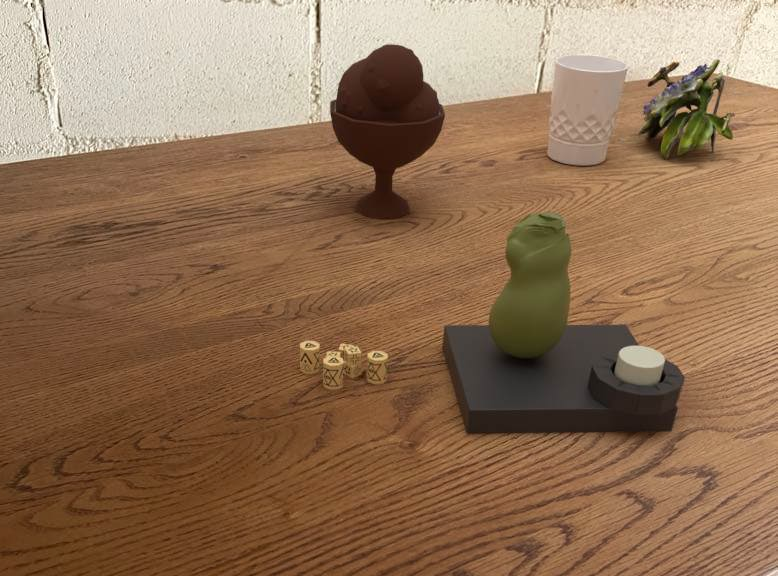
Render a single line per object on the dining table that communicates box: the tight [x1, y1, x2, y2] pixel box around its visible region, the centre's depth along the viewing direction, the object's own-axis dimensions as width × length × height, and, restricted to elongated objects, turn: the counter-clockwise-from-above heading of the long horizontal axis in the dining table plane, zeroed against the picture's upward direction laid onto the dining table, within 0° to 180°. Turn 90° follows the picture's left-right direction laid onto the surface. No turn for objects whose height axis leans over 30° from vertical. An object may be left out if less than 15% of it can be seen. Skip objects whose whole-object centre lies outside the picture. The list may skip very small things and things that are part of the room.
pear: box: [488, 211, 572, 359], centre depth 63 cm, size 6×5×10 cm
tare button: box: [614, 345, 666, 386], centre depth 61 cm, size 3×3×2 cm
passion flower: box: [638, 59, 736, 161], centre depth 109 cm, size 11×11×12 cm
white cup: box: [546, 53, 629, 167], centre depth 104 cm, size 8×8×10 cm
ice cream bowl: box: [329, 43, 446, 220], centre depth 88 cm, size 11×11×15 cm
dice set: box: [299, 340, 389, 391], centre depth 66 cm, size 5×5×2 cm
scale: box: [442, 324, 686, 435], centre depth 65 cm, size 14×13×4 cm
